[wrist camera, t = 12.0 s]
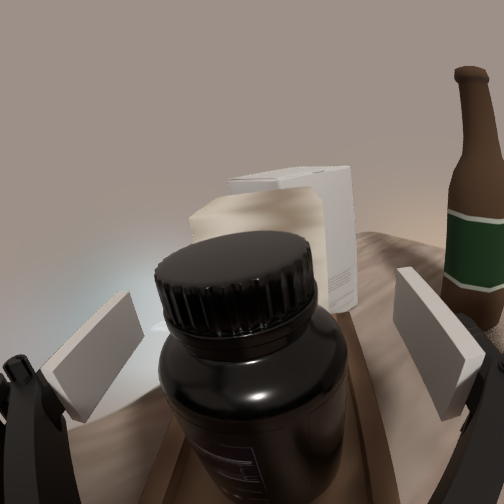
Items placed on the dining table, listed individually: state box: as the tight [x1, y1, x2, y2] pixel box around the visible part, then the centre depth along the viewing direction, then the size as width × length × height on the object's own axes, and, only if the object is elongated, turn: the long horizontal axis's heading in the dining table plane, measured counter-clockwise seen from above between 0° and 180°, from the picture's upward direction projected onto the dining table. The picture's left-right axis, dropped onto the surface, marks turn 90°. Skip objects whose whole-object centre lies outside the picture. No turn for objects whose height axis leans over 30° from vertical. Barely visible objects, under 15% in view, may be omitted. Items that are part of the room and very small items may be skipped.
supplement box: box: [228, 166, 358, 314], centre depth 30 cm, size 9×9×15 cm
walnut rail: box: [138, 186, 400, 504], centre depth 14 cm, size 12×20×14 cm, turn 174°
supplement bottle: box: [154, 230, 348, 504], centre depth 11 cm, size 7×7×12 cm
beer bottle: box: [441, 66, 504, 331], centre depth 20 cm, size 8×8×24 cm
